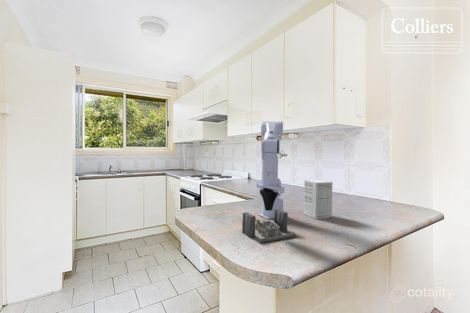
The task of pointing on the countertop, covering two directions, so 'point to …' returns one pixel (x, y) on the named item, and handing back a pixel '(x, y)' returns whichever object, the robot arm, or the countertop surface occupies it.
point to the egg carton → (267, 228)
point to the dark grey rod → (276, 238)
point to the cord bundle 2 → (281, 219)
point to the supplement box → (318, 199)
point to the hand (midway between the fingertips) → (268, 210)
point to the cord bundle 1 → (248, 225)
